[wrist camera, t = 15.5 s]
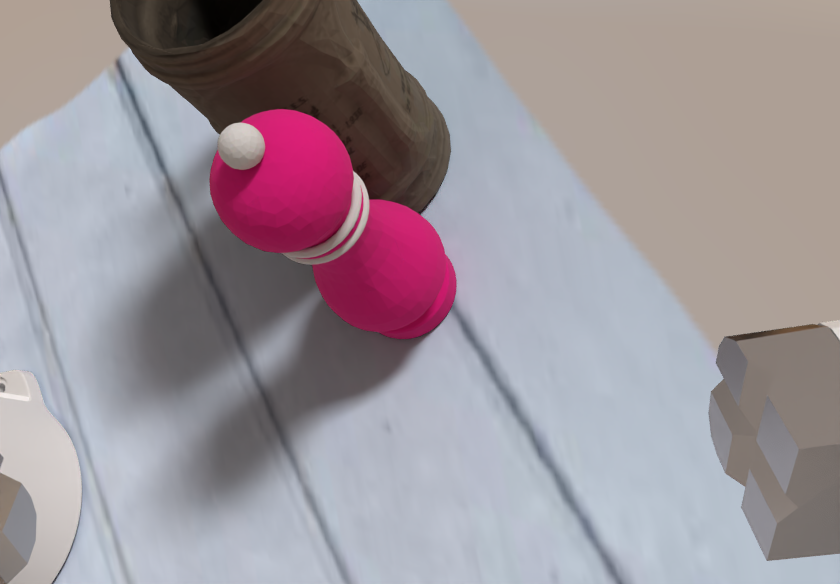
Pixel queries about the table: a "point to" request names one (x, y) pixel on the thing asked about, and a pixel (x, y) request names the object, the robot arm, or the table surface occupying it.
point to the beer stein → (298, 79)
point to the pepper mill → (331, 223)
